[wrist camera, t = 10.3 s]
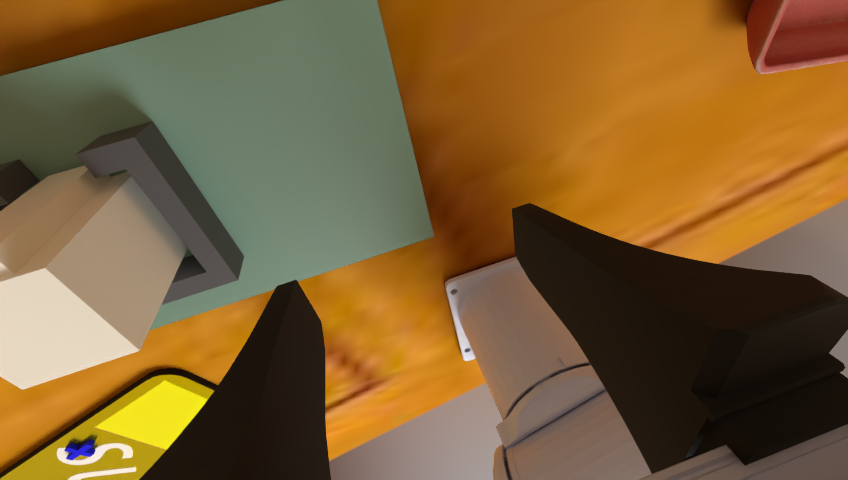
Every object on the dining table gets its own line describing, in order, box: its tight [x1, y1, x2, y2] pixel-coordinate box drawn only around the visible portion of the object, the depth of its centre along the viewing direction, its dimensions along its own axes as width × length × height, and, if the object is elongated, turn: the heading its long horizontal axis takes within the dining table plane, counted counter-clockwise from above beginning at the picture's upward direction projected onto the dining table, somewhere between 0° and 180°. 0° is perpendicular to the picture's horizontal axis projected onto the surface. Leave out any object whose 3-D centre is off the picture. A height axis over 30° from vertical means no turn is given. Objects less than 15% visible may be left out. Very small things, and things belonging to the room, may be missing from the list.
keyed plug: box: [0, 165, 188, 390], centre depth 14 cm, size 5×4×7 cm
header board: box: [0, 0, 434, 330], centre depth 17 cm, size 13×18×3 cm
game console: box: [0, 368, 218, 480], centre depth 28 cm, size 18×11×2 cm, turn 123°
